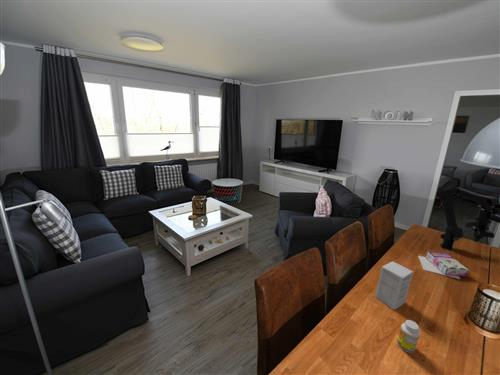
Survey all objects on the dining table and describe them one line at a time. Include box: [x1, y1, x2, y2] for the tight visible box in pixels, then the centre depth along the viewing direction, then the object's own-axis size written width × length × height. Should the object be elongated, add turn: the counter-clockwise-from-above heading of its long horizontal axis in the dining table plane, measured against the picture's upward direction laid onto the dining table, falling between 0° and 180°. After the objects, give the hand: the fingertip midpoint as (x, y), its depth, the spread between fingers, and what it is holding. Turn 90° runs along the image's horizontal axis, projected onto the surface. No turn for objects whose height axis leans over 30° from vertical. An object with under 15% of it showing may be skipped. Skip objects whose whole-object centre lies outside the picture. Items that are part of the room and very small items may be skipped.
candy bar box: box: [425, 250, 469, 277], centre depth 131 cm, size 11×5×16 cm
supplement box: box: [374, 261, 414, 311], centre depth 103 cm, size 10×9×17 cm
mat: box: [417, 255, 461, 280], centre depth 132 cm, size 16×16×1 cm
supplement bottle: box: [396, 319, 421, 354], centre depth 82 cm, size 6×6×10 cm
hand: (475, 241), depth 137 cm, fingers closed
